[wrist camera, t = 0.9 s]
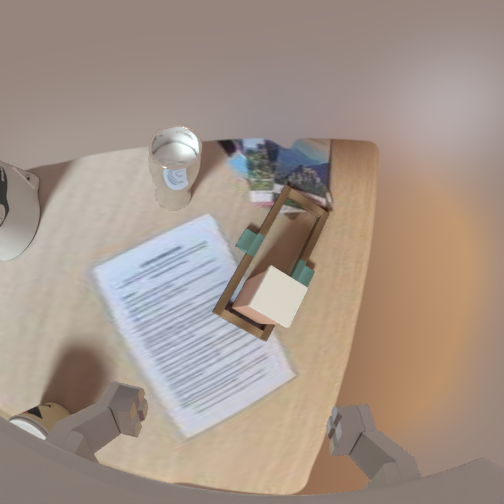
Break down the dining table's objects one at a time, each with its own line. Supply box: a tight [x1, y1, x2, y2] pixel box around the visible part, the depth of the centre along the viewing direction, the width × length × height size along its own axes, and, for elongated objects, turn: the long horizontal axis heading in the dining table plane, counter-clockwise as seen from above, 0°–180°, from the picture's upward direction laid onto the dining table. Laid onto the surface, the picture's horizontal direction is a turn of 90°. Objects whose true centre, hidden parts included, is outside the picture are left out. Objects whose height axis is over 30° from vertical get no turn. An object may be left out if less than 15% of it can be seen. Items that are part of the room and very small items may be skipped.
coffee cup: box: [8, 402, 71, 440], centre depth 28 cm, size 9×9×12 cm
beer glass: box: [148, 125, 202, 211], centre depth 40 cm, size 7×7×15 cm
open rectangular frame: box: [212, 185, 329, 341], centre depth 49 cm, size 13×25×2 cm, turn 151°
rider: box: [231, 265, 308, 327], centre depth 41 cm, size 5×5×13 cm
